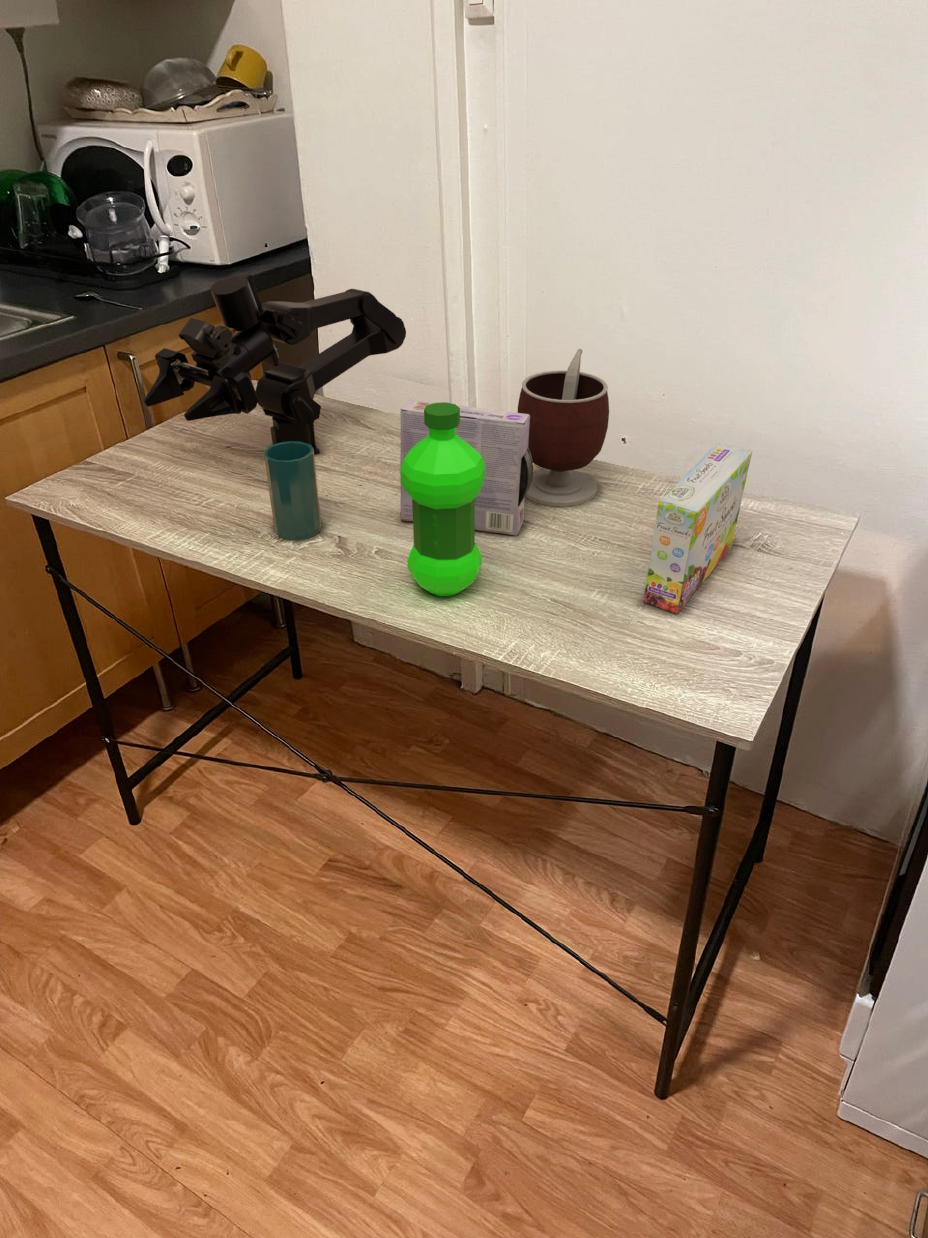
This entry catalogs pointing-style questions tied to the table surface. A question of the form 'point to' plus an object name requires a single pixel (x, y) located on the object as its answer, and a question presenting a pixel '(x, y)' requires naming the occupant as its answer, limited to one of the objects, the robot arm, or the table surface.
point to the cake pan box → (503, 456)
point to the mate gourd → (564, 432)
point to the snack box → (695, 526)
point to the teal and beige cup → (293, 490)
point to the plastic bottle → (443, 504)
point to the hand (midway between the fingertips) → (165, 410)
